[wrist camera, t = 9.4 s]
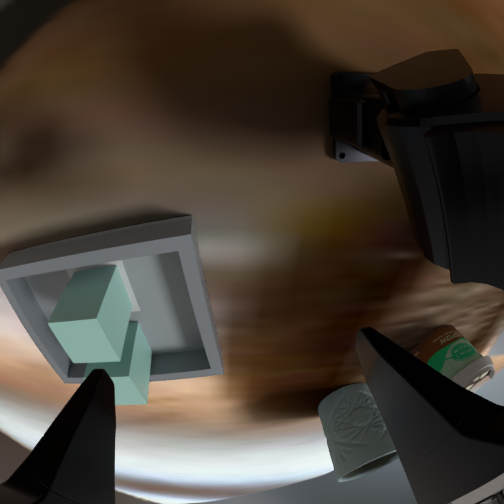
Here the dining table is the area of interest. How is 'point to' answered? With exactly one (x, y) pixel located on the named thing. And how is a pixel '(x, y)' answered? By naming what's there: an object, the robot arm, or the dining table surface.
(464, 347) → the food container
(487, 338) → the dining table surface
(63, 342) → the block
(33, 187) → the dining table surface
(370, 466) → the grey green cylinder
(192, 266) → the tray
